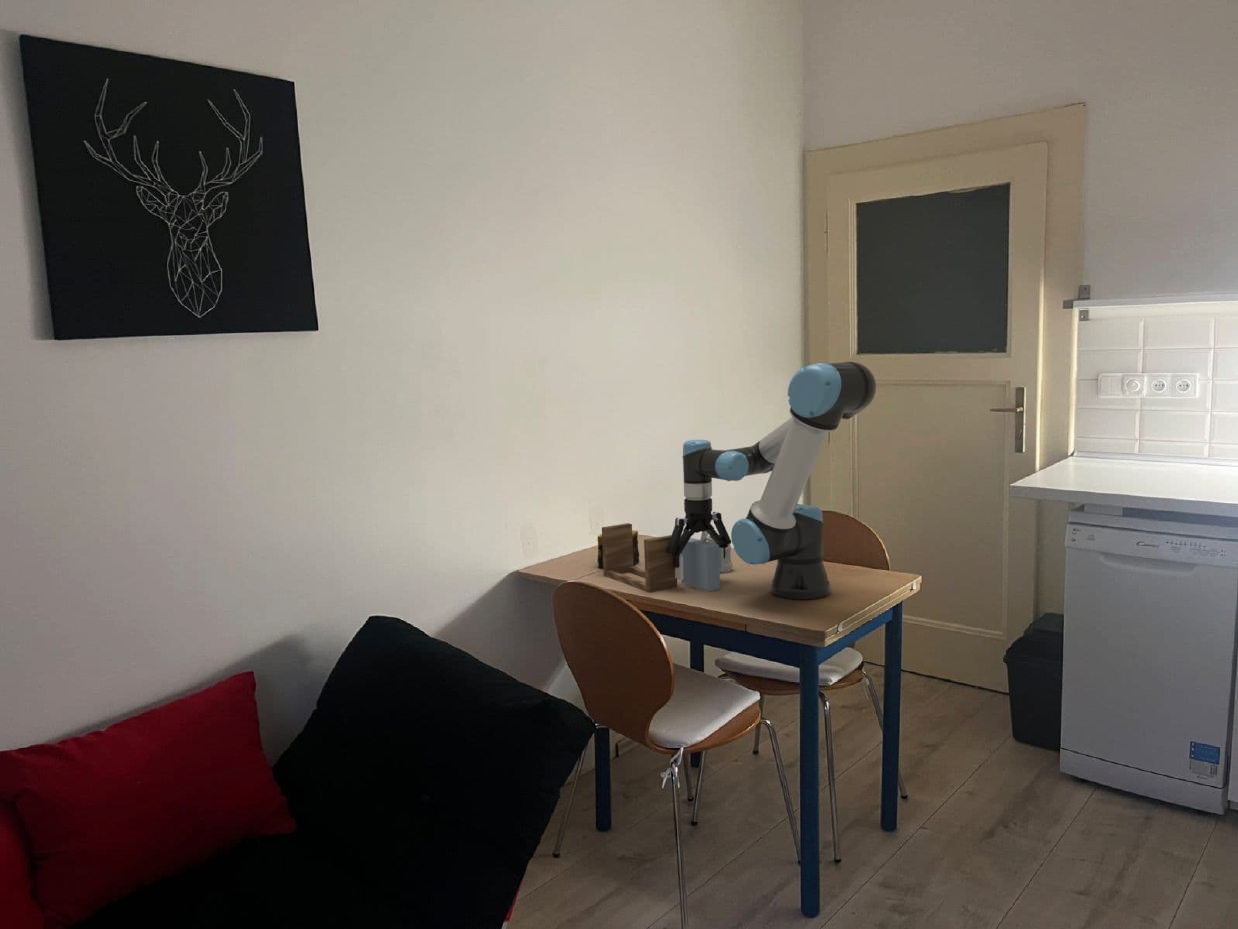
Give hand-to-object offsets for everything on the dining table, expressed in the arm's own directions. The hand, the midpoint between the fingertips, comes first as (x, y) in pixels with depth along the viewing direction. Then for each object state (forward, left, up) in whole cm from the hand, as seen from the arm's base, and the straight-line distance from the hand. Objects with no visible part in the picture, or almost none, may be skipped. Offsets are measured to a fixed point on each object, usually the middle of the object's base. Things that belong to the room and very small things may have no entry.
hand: (699, 574), depth 250 cm
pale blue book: (0, 0, -3) cm, 3 cm away
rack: (+15, +10, -3) cm, 18 cm away
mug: (+12, -14, -3) cm, 19 cm away
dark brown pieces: (+34, +5, -3) cm, 34 cm away
